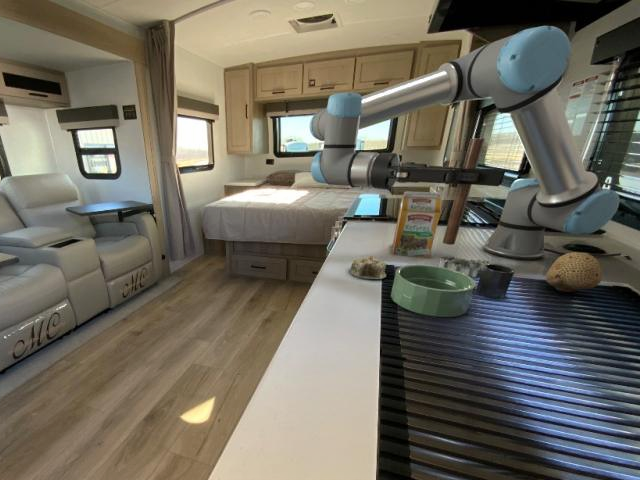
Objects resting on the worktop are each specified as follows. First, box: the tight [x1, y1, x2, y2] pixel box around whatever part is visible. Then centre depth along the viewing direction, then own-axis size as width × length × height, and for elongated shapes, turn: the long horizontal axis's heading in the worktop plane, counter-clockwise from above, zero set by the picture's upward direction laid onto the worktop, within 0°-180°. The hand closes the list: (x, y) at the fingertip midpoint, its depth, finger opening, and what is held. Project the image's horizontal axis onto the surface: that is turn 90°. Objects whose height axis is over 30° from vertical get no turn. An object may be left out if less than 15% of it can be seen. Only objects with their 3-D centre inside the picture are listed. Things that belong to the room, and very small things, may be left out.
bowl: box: [390, 264, 477, 318], centre depth 75 cm, size 16×16×6 cm
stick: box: [442, 138, 486, 246], centre depth 66 cm, size 2×2×20 cm
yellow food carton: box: [392, 191, 443, 259], centre depth 106 cm, size 11×11×19 cm
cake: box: [348, 255, 387, 280], centre depth 92 cm, size 10×10×5 cm
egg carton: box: [438, 254, 490, 278], centre depth 93 cm, size 11×8×4 cm
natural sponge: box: [545, 251, 603, 293], centre depth 78 cm, size 9×9×10 cm
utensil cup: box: [474, 263, 515, 300], centre depth 78 cm, size 6×6×7 cm
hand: (501, 177), depth 61 cm, fingers closed on stick, 2 cm apart
